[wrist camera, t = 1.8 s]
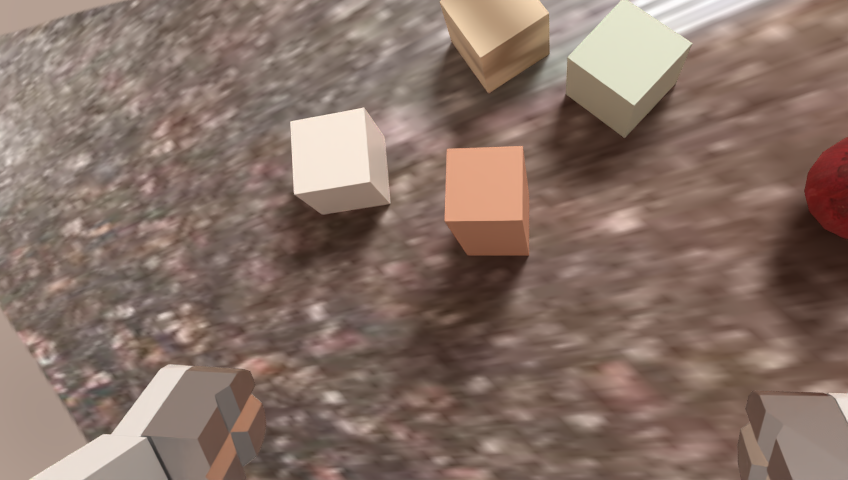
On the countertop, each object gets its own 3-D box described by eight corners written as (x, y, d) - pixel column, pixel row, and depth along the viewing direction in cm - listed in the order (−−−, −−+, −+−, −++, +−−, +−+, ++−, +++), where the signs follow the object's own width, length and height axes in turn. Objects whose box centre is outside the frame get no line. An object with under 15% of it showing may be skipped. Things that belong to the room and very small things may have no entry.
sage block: (615, 41, 42) (623, -3, 37) (675, 83, 40) (692, 43, 36) (565, 94, 42) (567, 57, 37) (624, 138, 40) (634, 105, 35)
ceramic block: (384, 137, 44) (364, 107, 39) (390, 204, 42) (370, 181, 38) (318, 149, 45) (290, 121, 40) (322, 214, 43) (294, 194, 39)
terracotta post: (529, 196, 40) (522, 146, 32) (528, 255, 40) (522, 220, 31) (469, 197, 41) (446, 148, 33) (467, 255, 40) (444, 221, 32)
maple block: (510, 4, 44) (505, -42, 39) (549, 54, 43) (549, 13, 38) (451, 42, 44) (439, 1, 40) (488, 93, 43) (480, 57, 38)
